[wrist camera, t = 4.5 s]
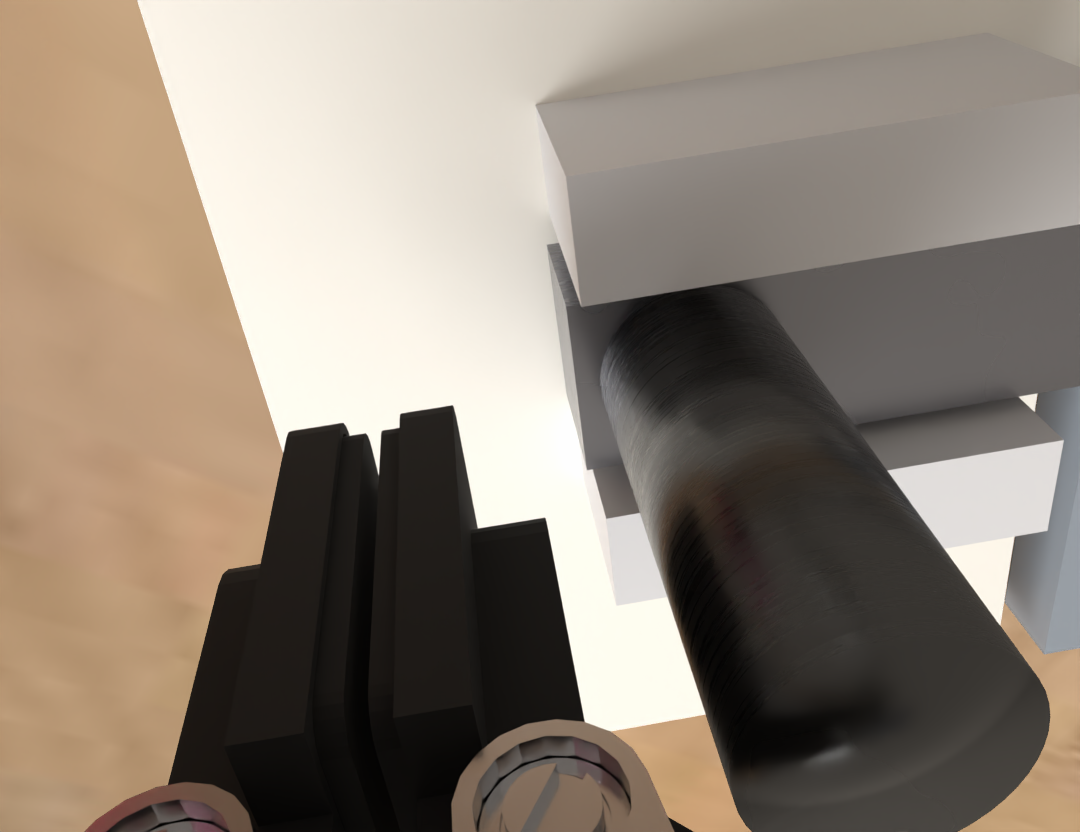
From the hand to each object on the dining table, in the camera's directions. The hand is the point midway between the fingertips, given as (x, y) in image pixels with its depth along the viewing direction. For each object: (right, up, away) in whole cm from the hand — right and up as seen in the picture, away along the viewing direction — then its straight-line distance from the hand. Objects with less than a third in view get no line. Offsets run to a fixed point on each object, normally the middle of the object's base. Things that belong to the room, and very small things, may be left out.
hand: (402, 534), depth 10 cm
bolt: (+7, +3, +4) cm, 8 cm away
